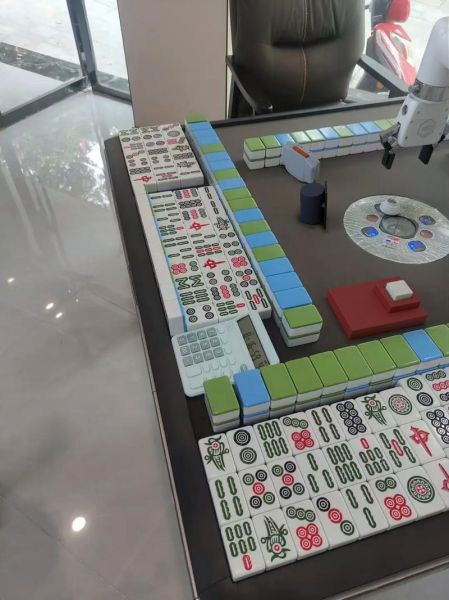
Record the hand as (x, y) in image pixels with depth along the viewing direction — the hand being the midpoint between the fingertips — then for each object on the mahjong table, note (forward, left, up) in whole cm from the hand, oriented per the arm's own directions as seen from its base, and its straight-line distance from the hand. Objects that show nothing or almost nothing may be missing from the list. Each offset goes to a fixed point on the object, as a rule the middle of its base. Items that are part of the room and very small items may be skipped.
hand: (404, 163), depth 101 cm
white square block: (+16, +30, -9) cm, 35 cm away
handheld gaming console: (+17, -21, -13) cm, 30 cm away
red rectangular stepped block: (+20, +30, -13) cm, 39 cm away
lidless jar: (0, 0, -13) cm, 13 cm away
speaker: (+21, -1, -13) cm, 25 cm away
